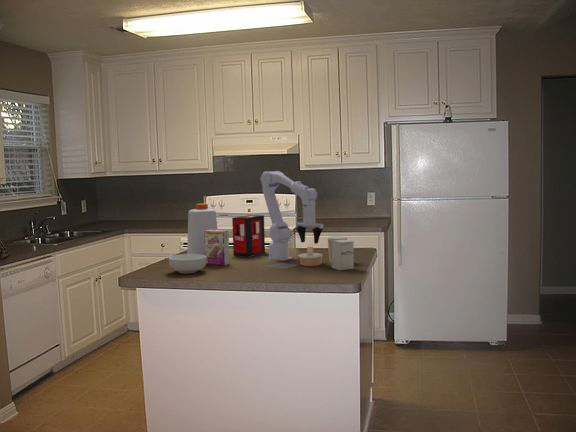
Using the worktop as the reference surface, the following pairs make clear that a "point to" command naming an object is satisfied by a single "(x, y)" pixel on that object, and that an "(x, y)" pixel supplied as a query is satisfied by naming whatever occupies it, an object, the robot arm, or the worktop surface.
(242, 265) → the worktop surface
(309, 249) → the lid
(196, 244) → the plastic bottle
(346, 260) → the supplement box
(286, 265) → the mat
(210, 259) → the candy bar box
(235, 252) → the cleaning product box
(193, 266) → the cereal bowl
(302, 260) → the ramekin
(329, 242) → the coffee cup
